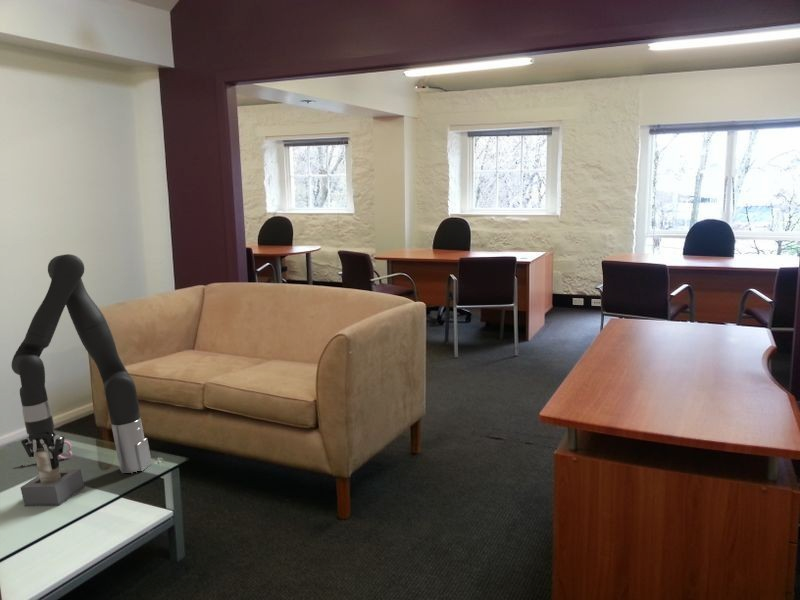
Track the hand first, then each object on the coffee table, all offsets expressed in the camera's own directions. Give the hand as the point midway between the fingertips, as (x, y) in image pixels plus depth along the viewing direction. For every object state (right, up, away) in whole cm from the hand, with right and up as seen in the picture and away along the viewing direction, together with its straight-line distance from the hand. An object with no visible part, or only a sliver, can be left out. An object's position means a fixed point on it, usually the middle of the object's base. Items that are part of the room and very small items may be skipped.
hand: (48, 468), depth 200 cm
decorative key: (-19, -7, +32) cm, 38 cm away
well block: (+1, -9, +2) cm, 10 cm away
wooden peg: (+1, -6, +1) cm, 6 cm away
